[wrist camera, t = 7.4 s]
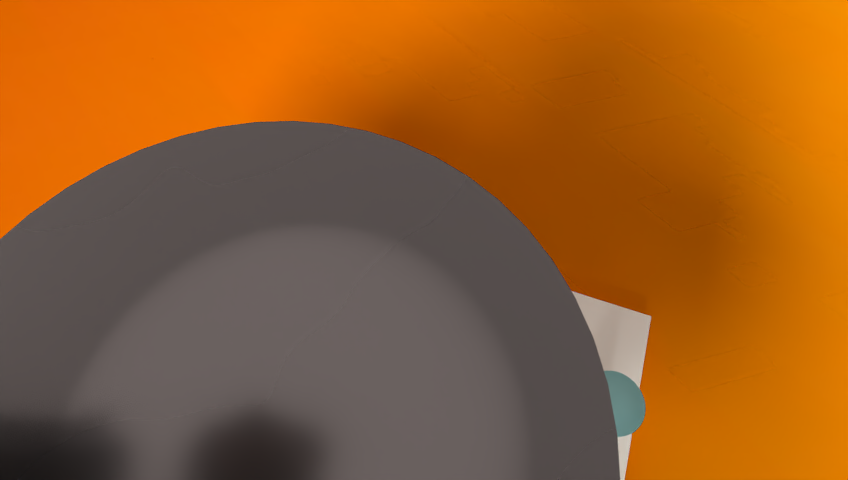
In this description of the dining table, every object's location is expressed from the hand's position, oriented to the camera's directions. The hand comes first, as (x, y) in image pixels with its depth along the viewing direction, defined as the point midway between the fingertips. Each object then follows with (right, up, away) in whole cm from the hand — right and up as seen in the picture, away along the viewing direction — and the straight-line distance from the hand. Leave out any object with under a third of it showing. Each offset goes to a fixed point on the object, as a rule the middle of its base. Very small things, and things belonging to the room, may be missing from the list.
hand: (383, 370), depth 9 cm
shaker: (-1, -4, +5) cm, 7 cm away
